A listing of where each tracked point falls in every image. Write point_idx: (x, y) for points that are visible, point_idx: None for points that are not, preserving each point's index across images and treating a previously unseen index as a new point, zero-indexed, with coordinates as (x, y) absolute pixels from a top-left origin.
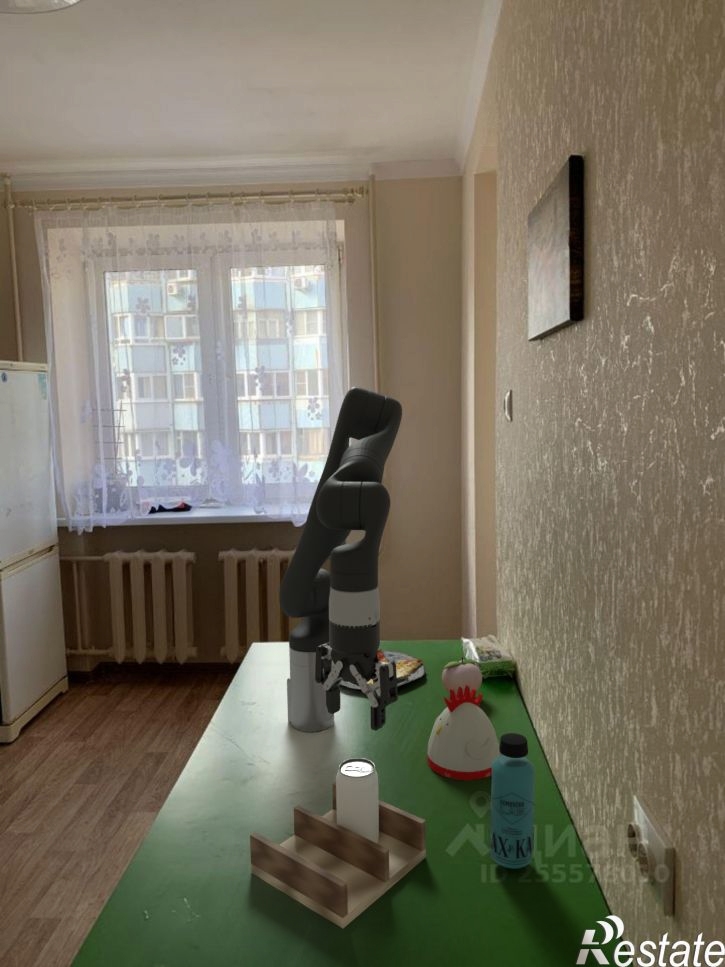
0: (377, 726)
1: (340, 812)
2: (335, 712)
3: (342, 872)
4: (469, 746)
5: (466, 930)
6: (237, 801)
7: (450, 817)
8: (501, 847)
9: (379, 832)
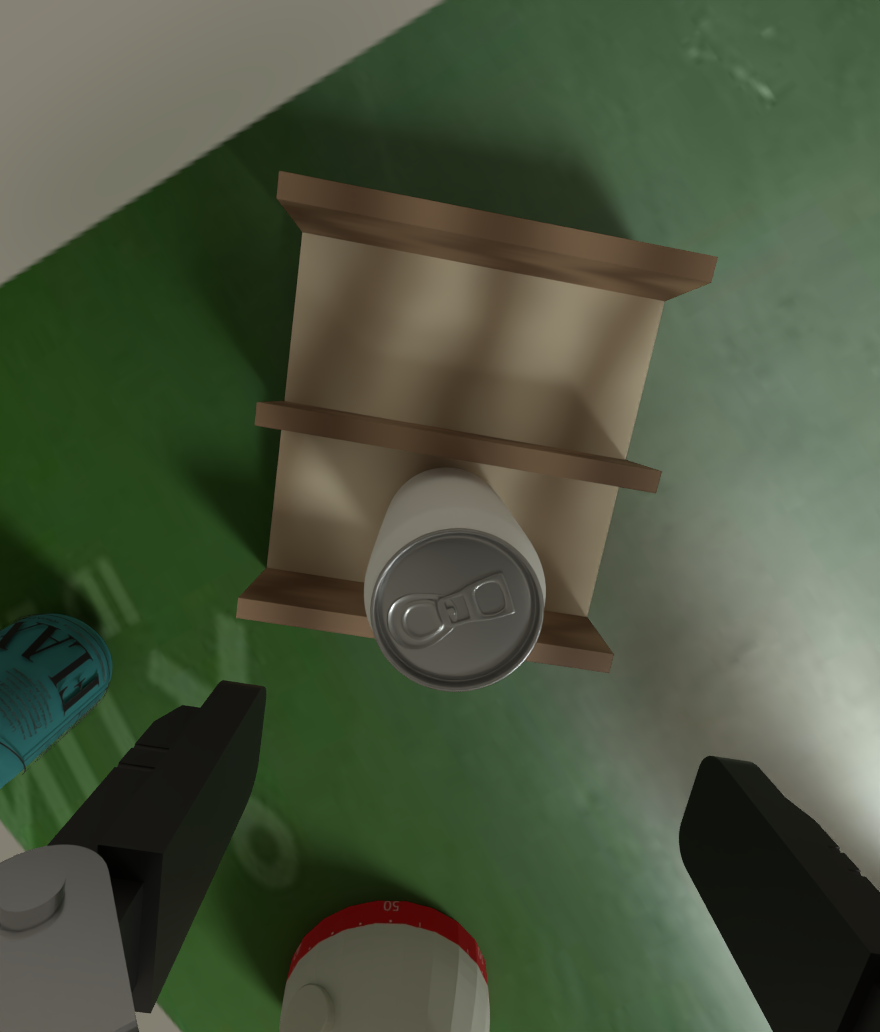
0: (190, 712)
1: (479, 489)
2: (691, 794)
3: (409, 379)
4: (318, 1023)
5: (47, 376)
6: (876, 542)
7: (299, 750)
8: (19, 634)
9: None
